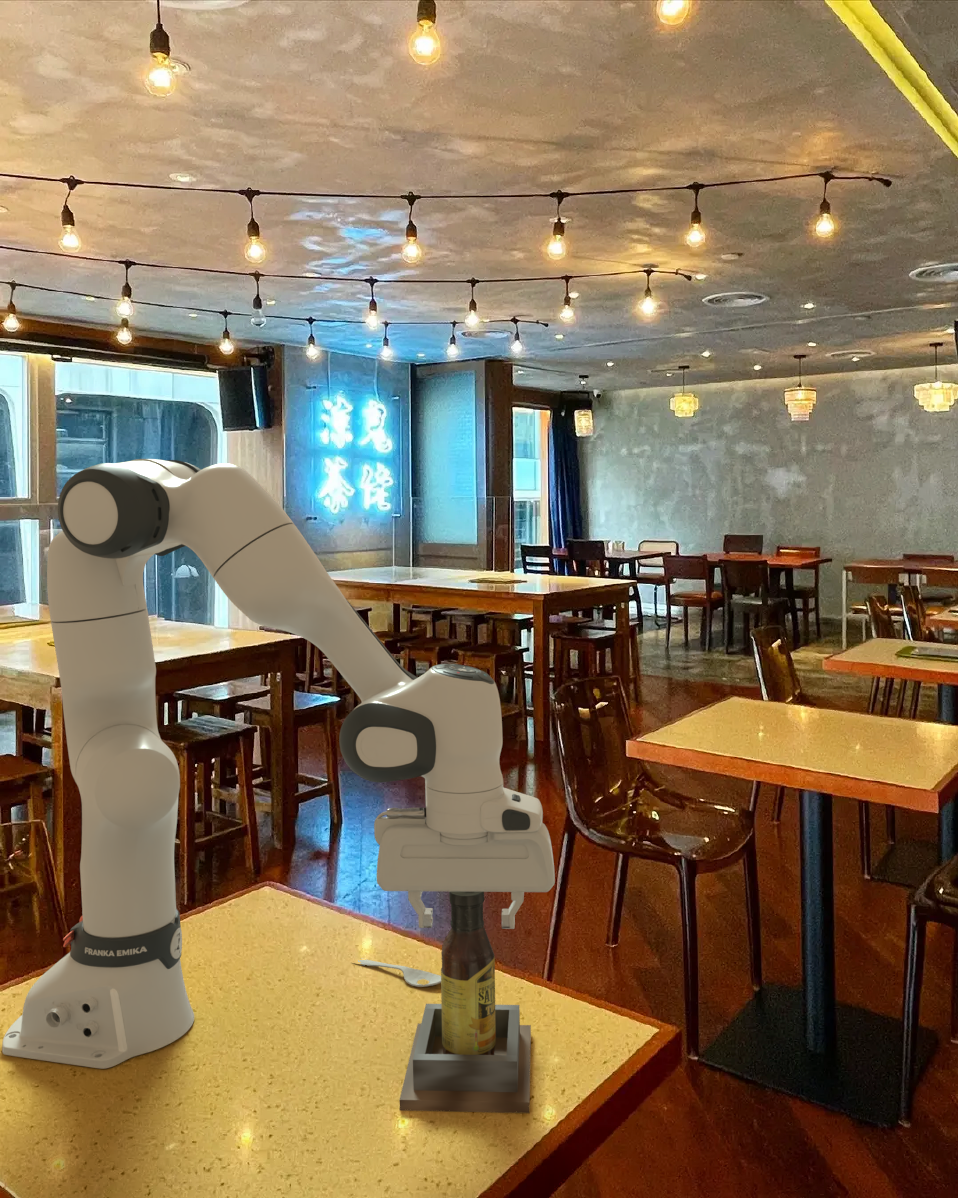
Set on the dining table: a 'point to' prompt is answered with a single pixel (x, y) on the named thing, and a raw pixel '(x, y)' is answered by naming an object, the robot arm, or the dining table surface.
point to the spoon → (408, 973)
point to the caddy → (469, 1069)
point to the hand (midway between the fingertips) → (467, 926)
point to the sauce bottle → (468, 980)
